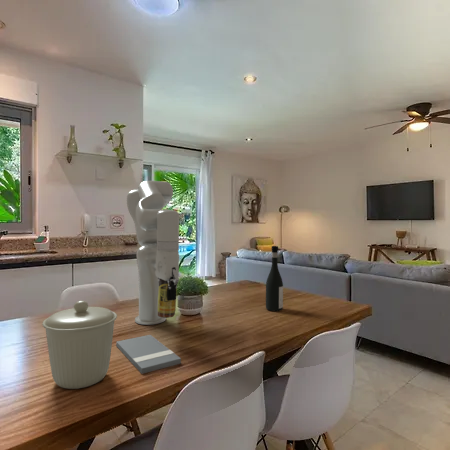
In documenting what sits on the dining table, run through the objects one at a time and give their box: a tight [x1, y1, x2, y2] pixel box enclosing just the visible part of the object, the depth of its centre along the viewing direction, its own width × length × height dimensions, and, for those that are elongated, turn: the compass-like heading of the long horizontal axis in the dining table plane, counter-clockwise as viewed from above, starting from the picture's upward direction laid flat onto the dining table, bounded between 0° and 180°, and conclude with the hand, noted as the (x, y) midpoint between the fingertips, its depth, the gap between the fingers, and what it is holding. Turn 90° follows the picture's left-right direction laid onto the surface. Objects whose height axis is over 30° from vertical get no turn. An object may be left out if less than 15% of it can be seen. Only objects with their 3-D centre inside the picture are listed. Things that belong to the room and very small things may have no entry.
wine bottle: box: [265, 245, 284, 312], centre depth 157 cm, size 8×8×30 cm
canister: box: [41, 300, 118, 390], centre depth 89 cm, size 18×18×21 cm
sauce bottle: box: [158, 278, 178, 319], centre depth 116 cm, size 6×6×20 cm
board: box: [115, 334, 182, 375], centre depth 106 cm, size 24×12×2 cm, turn 34°
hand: (167, 296), depth 117 cm, fingers closed on sauce bottle, 6 cm apart
